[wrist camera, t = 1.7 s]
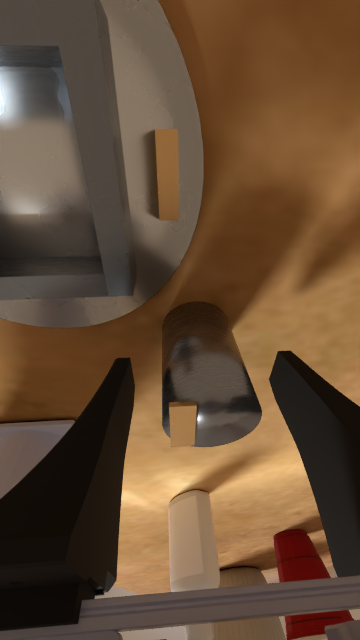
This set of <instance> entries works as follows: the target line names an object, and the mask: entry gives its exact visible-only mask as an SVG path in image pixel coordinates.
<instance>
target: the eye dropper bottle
mask: <svg viewBox="0 0 360 640" xmlns="http://www.w3.org/2000/svg"><path fill="white" fill-rule="evenodd" d="M169 554H170V584H171V591H172V592H180V591H191V590H202V589H213V588H218V587H219V584H220V571H219V563H218V555H217V547H216V540H215V533H214V525H213V518H212V511H211V504H210V497H209V494H208V493H207V492H203V491H200V490H191V491H188V492H185V493H183V494H180V495H178V496H177V497H175V498H174V499H173V500H172V501H171V502H170V504H169ZM212 639H213V633H212V624H211V623H206V624H195V625H185V640H212Z"/></svg>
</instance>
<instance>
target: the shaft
mask: <svg viewBox="0 0 360 640" xmlns="http://www.w3.org/2000/svg"><path fill="white" fill-rule="evenodd" d="M261 416H262V410H261V406H260V404H259V401H258V398H257V396H256V393H255V391H254V388H253V385H252V383H251V380H250V378H249V375H248V372H247V370H246V367H245V365H244V362H243V359H242V357H241V354H240V352H239V349H238V346H237V344H236V341H235V339H234V336H233V333H232V331H231V328H230V326H229V323H228V320H227V318H226V316H225V314H224V313H223V312H222V311H221V310H220V309H219V308H218V307H216V306H215V305H212V304H210V303H206V302H189V303H185V304H182V305H180V306H178V307H177V308H175V309H174V310H172V311H171V312H170V313H169V314H168V315H167V317H166V318H165V320H164V322H163V325H162V425H163V429H164V431H165V433H166V434H167V435H168V436H169V437H170V438H171V447H179V446H194V447H213V446H219V445H224V444H228V443H231V442H234V441H236V440H238V439H241V438H243V437H244V436H246V435H247V434H249V433H250V432H251V431H253V430H254V429H255V428H256V426H257V425H258V424H259V422H260V420H261Z"/></svg>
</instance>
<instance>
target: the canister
mask: <svg viewBox="0 0 360 640" xmlns="http://www.w3.org/2000/svg"><path fill="white" fill-rule="evenodd" d="M258 584H267V581H266V579H265V577H264V575H263V574H262V573H261V572H260V571H259V570H258V569H255V568H250V567H238V568H230V569H225V570H221V571H220V584H219V587H218V588H224V587H236V586H247V585H258ZM211 624H212V633H213V639H212V640H286V638H285V635H284V632H283V628H282V625H281V622H280V619H279V617H268V618H258V619H248V620H237V621H227V622H216V623H211Z"/></svg>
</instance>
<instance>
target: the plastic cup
mask: <svg viewBox="0 0 360 640" xmlns="http://www.w3.org/2000/svg"><path fill="white" fill-rule="evenodd" d="M274 547H275V553H276V559H277V568H278V575H279V581H280V582H292V581H303V580H314V579H325V578H331V577H330V575H329V573H328V571H327V569H326V567H325V565H324V563H323V562H322V560H321V558H320V557H319V555H318V553H317V551H316V549H315V547H314V545H313V543H312V541H311V539H310V537H309V536H308V535H307V533H306V531H304V530H290V531H285V532H281V533H279V534H276V535H275V536H274ZM353 620H354V619H353V618H352V616H351V614H350V612H349V610H341V611H331V612H321V613H310V614H300V615H289V616H285V622H286V633H287V634H286V636H287V640H328V639H327V636H326V633H325V626H329V625H335V624H340V623H345V622H347V621H353Z"/></svg>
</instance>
